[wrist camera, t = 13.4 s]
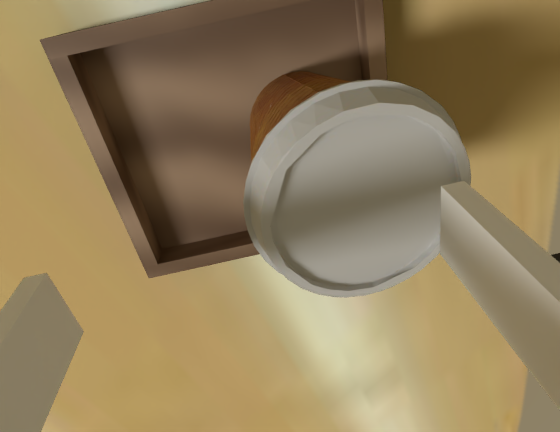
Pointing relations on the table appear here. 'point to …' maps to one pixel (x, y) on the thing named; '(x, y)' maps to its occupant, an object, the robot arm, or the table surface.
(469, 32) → the table surface
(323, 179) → the disposable coffee cup
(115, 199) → the walnut tray
